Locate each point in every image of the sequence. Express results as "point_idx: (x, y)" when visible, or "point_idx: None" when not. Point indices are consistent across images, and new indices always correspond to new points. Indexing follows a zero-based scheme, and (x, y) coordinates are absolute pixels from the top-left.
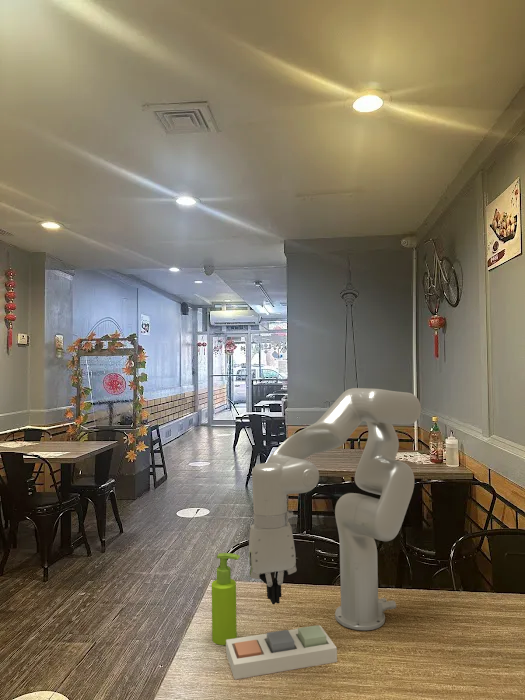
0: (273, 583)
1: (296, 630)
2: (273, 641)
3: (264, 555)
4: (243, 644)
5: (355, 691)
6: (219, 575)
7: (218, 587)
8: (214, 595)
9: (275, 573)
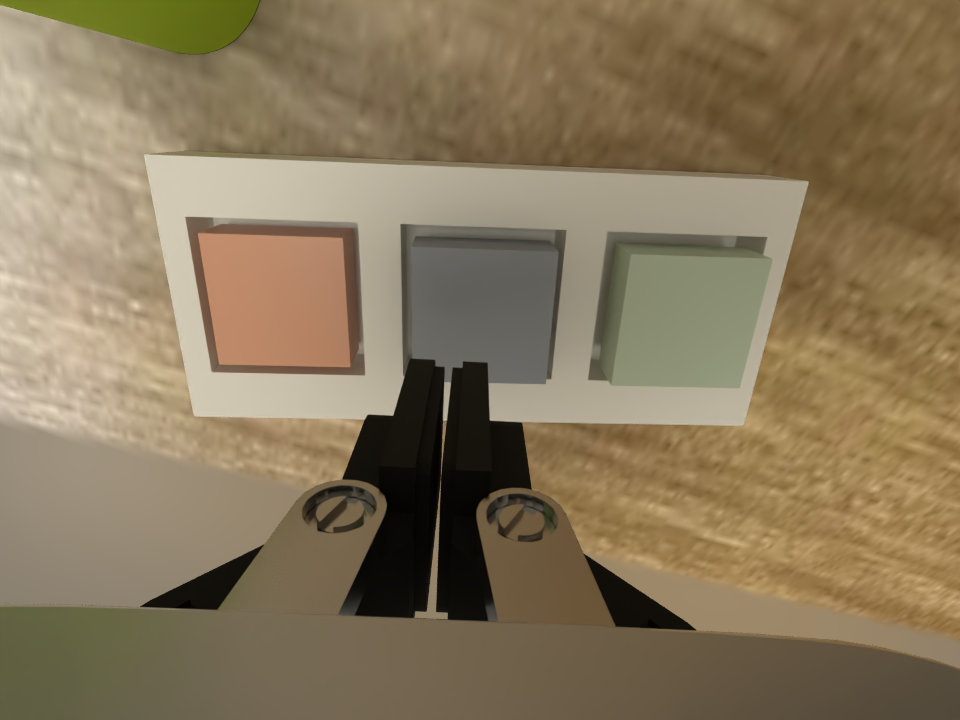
0: (440, 513)
1: (633, 192)
2: (427, 353)
3: None
4: (255, 266)
5: (667, 558)
6: None
7: None
8: None
9: (487, 610)
